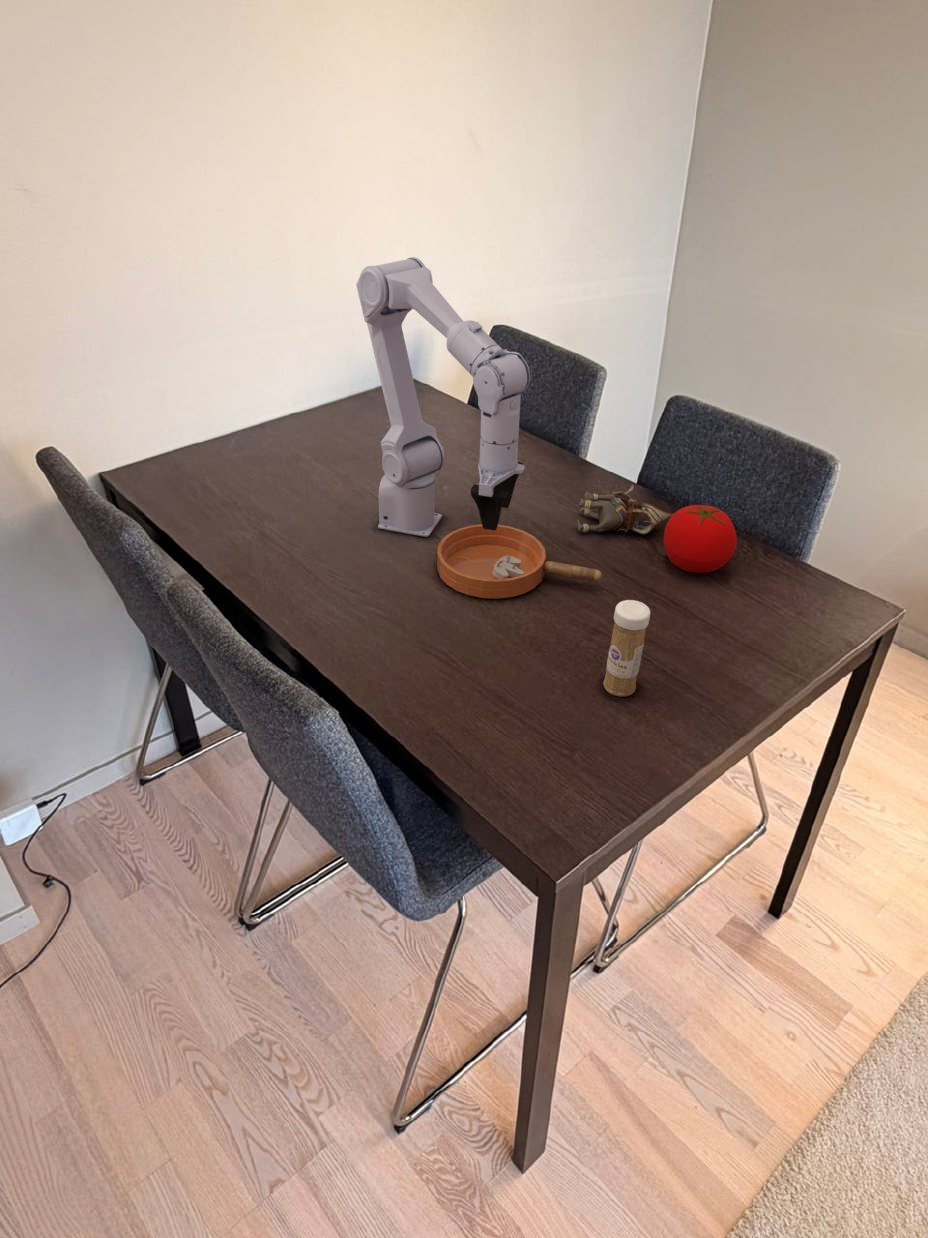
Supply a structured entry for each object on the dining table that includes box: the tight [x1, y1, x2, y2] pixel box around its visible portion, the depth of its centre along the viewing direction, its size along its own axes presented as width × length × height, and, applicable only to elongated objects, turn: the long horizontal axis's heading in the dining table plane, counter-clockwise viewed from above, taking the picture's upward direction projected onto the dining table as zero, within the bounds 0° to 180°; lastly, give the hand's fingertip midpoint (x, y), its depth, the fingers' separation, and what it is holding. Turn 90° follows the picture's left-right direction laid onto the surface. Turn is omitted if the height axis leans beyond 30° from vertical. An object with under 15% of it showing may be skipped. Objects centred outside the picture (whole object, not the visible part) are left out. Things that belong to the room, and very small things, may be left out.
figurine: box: [576, 484, 675, 535], centre depth 155 cm, size 20×6×17 cm
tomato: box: [663, 503, 738, 574], centre depth 144 cm, size 11×12×10 cm
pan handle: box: [543, 560, 603, 583], centre depth 140 cm, size 10×2×2 cm, turn 73°
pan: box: [436, 523, 547, 600], centre depth 143 cm, size 18×18×4 cm
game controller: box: [464, 556, 524, 579], centre depth 142 cm, size 6×12×3 cm, turn 79°
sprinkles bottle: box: [602, 599, 651, 698], centre depth 117 cm, size 5×5×14 cm
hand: (496, 517), depth 138 cm, fingers open, 7 cm apart
